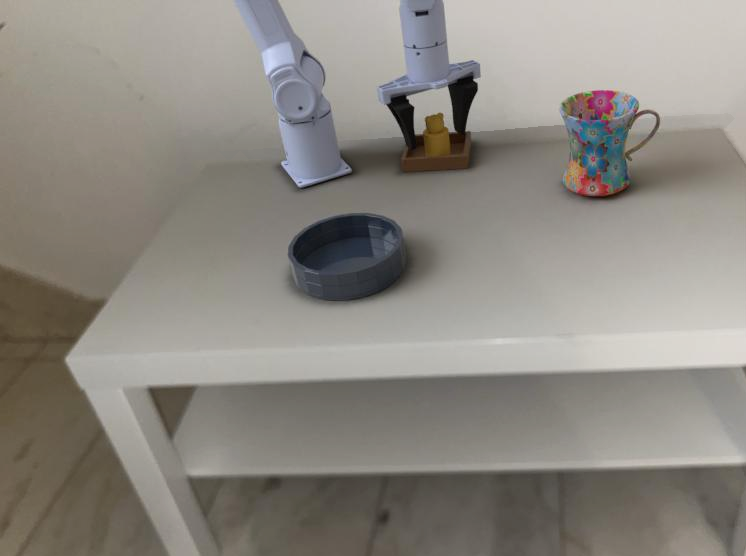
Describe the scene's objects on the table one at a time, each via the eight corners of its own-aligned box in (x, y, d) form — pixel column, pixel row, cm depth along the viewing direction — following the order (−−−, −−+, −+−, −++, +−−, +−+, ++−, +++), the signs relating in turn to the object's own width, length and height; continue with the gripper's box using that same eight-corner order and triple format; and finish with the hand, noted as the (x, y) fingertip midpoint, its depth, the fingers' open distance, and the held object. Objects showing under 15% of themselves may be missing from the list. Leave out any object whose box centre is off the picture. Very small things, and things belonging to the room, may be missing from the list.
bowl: (281, 259, 93) (274, 234, 91) (381, 226, 96) (376, 201, 94) (315, 314, 83) (308, 288, 81) (425, 275, 86) (421, 249, 84)
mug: (564, 206, 95) (564, 124, 88) (555, 172, 102) (554, 94, 95) (663, 196, 94) (671, 113, 87) (647, 163, 101) (653, 83, 94)
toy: (421, 153, 110) (416, 113, 107) (444, 147, 111) (439, 107, 108) (432, 162, 108) (427, 122, 104) (455, 155, 109) (451, 115, 105)
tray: (402, 172, 107) (400, 159, 106) (409, 146, 114) (408, 134, 113) (468, 168, 106) (467, 155, 105) (471, 142, 112) (470, 130, 111)
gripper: (385, 63, 95) (400, 163, 103) (488, 35, 99) (494, 134, 107) (365, 49, 100) (380, 146, 109) (463, 23, 104) (471, 118, 112)
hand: (435, 139), depth 108 cm, fingers open, 7 cm apart
